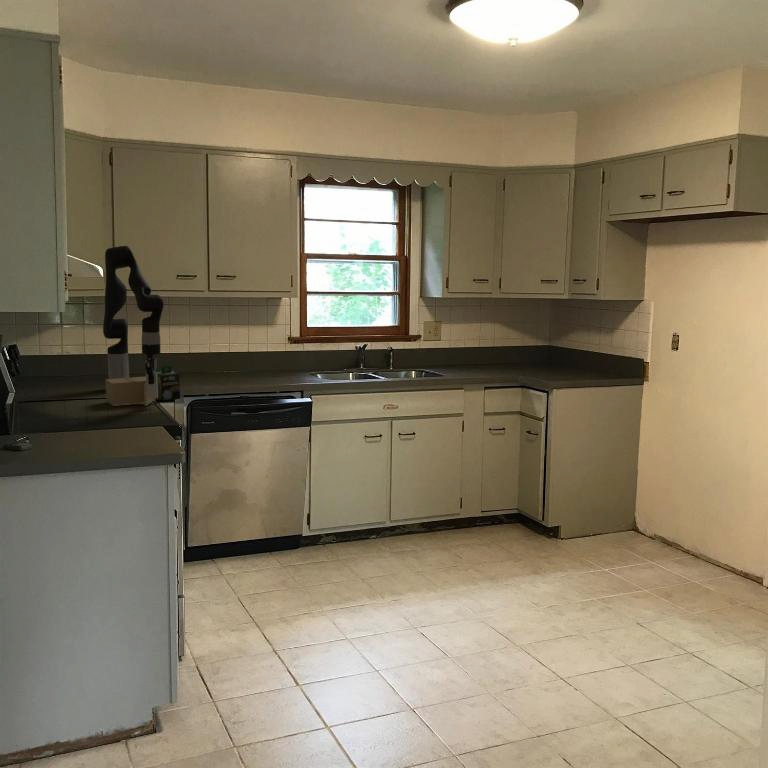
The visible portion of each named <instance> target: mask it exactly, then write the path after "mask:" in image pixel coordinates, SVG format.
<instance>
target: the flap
mask: <svg viewBox="0 0 768 768" xmlns="http://www.w3.org/2000/svg"><path fill="white" fill-rule="evenodd" d="M157 372H158V371H156V372H154V384H148V374H147V372H146V371H145V377H146V383H145V384H144V400H145V404H148V403H150V402H152V401H153V398H156V399H158V383H157ZM145 404H144V405H145Z"/></svg>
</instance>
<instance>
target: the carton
mask: <svg viewBox="0 0 768 768" xmlns="http://www.w3.org/2000/svg"><path fill="white" fill-rule="evenodd" d="M145 383H146V376H135V377H130V376H129V377H127V378H119V379H109V378H108V379H107V378H106V379H105V399H106V400H105V401H107V402H110V403H112V404H124V403H141V402H145V400H144V384H145ZM156 399H157V398H153V401H155V402H157V401H156ZM107 402H106V403H107Z"/></svg>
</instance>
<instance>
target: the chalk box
mask: <svg viewBox="0 0 768 768" xmlns="http://www.w3.org/2000/svg"><path fill="white" fill-rule="evenodd" d="M165 369H167V370H165ZM156 372H157V383H158V398H157V399H158V400H160V401H165V400H173V399H174V400H175V399H176V400H177V399H180V398H181V389H180V388H181V385H180V384H181V383H180V378H181V377H180V373H179V372H176V371H174V370H172V365H171V364H169V365H162V366H161V371H156Z"/></svg>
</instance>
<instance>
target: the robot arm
mask: <svg viewBox="0 0 768 768" xmlns="http://www.w3.org/2000/svg"><path fill="white" fill-rule="evenodd" d="M135 257H136V256H135V254H134V253H133V251H132V249H131V248H130V247H129V246H127V245H120V246H113V247H110V248H107V249H106V250H105V253H104V261H105V262H104V263H105V288H104V290H105V291H104V317H103V324H102V332H103V336H104V338H106V339H108V340H115V339H116V340H117V339H118V340H119V341H118V342H117V343H115V344H113V345H110V346H108V347H107V348H106V351H107V367H108V369H107V370H108V372H107V373H108V379H119V378H127V377H130V363H129V347H128V346H129V341H128V336H129V334H128V332H129V327H128V326H129V325H128V324H129V323H128V321H127V320H126V318H115V316H116V315H117V313H119V311H121V309H123V307H124V306H125V304H126V303H127V296H128V295H127V294H128V293H127V292H128V290H127V289H128V288H127V287H126V285H125V283H124V282H123V280H121V279H120V277H118V275H117V273H116V270H118V269H119V270H120V269H123V268H130V269H129V270H130V271H129V275H128V280H127V281H128V286H129V288H130V289H131V291H132V293H133V294H134V297H135V301H136V305H137V307H136V308H138V310H140V312H143V313H149V312H151V313H150V315H149V316H147V317H143V319H142V320H141V354H142V355H146V358H145V363H144V366H145V373H146V372H147V374H148V384H154V372H157V369H158V368H157V366H158V358H157V357H156V355H160V354H161V334H160V333H161V332H160V331H161V330H160V321H161V318H162V314H163V310H164V305H165V304H164V300H163V298H162V296H161V295H160V294H151V293H152V288H151V287H150V285H149V283H148V282H147V281H146V279H145V277H144V276H143V274H142V270H141V269H140V265H139V264H138V261H137V259H136V258H135Z"/></svg>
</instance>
